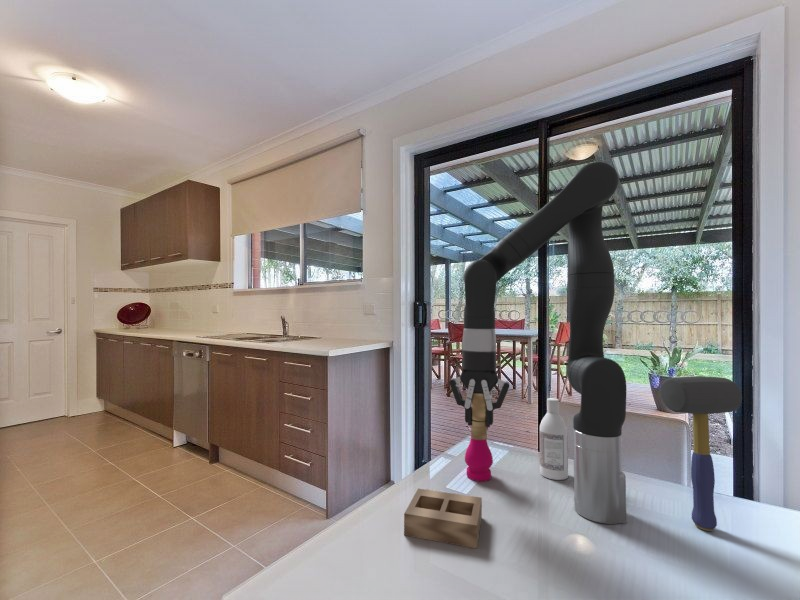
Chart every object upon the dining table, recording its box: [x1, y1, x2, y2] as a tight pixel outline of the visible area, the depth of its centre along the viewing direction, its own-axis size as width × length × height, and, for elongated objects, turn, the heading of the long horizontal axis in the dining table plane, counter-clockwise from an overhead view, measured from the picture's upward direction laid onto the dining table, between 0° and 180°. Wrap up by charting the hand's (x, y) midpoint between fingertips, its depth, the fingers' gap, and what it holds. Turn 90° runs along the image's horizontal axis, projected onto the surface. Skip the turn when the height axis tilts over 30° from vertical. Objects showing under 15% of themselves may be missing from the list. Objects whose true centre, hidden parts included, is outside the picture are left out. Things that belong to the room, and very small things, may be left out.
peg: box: [470, 393, 488, 440], centre depth 84 cm, size 4×4×10 cm
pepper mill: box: [464, 405, 494, 482], centre depth 98 cm, size 7×7×20 cm
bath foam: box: [538, 397, 569, 481], centre depth 99 cm, size 7×7×20 cm
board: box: [403, 488, 483, 549], centre depth 74 cm, size 14×11×4 cm
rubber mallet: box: [660, 375, 743, 532], centre depth 75 cm, size 12×8×30 cm, turn 95°
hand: (478, 425), depth 84 cm, fingers closed on peg, 3 cm apart
